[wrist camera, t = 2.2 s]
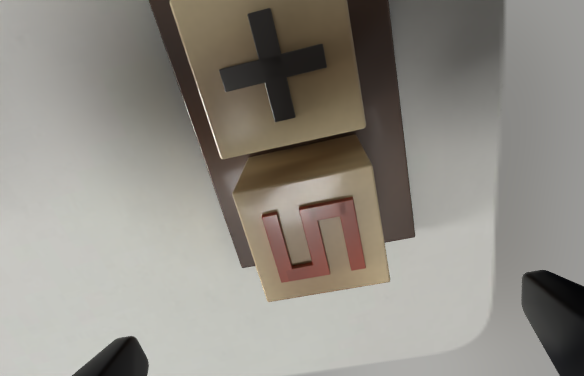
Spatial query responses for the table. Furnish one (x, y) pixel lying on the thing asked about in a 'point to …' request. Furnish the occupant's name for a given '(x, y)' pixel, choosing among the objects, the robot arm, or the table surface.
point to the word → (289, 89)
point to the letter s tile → (313, 219)
